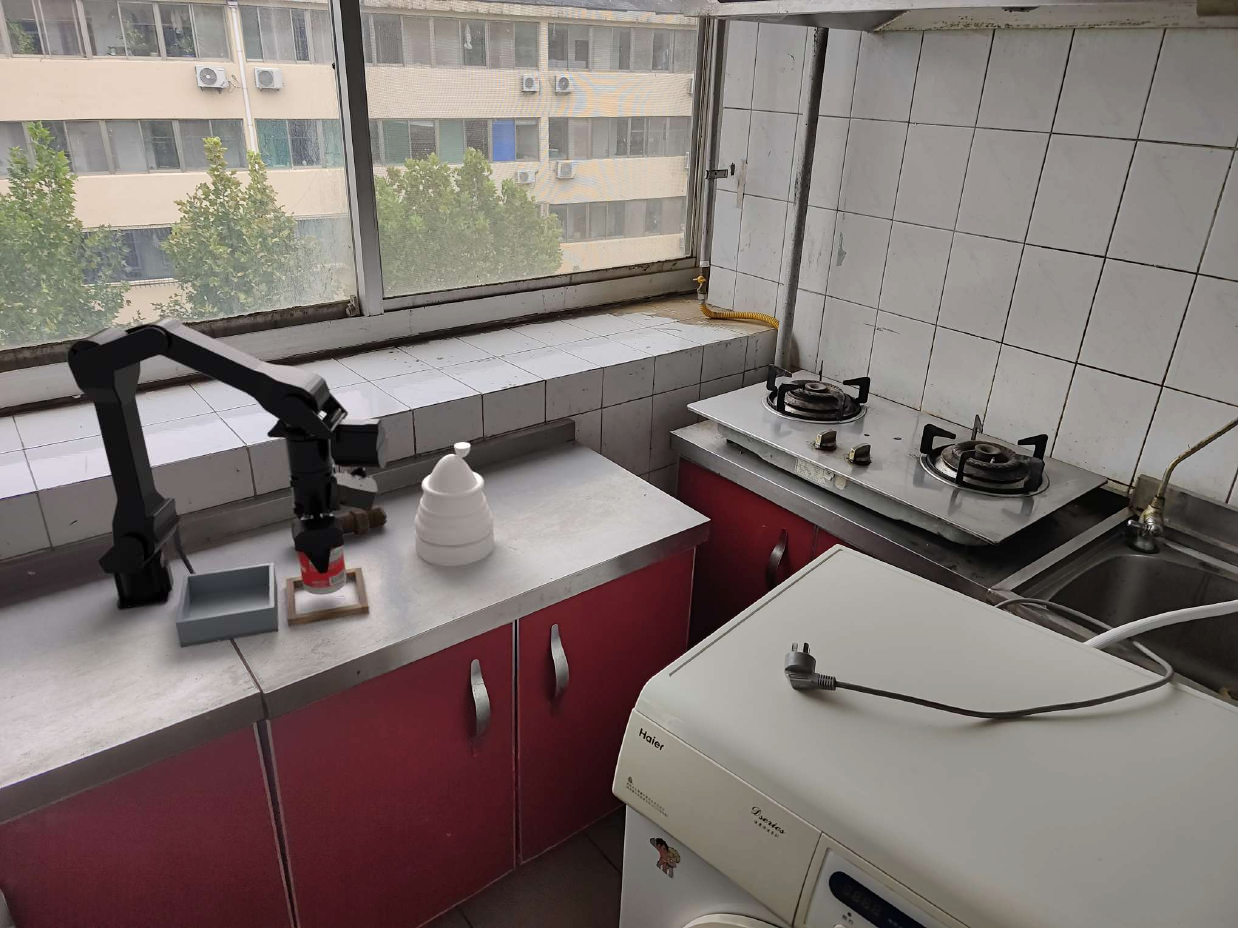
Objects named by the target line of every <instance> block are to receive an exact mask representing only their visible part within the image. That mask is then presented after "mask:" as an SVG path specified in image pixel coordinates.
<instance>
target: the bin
mask: <svg viewBox="0 0 1238 928" xmlns="http://www.w3.org/2000/svg"><path fill="white" fill-rule="evenodd" d="M275 567H276V566H275V563H274V562H266V563H259V564H253V565H252V564H251V565H247V566H246V565H245V566H239V567H232V568H225V569H218V570H210V571H205V572H198V573H190V574H183V577H182V583H181V588H180V595H179V601H178V605H177V606H178V607H177V613H176V619H175V626H176V630H177V635H178V639H179V644H180V648H186V647H190V646H196V645H203V644H208V643H209V644H210V643H214V642H215V643H216V642H221V641H227V640H232V639H238V638H243V637H250V636H256V635H262V634H268V633H275V632H279V610H278V606H279V605H278V603H279V600H278V582H277V575H276V574H277V573H276V568H275Z"/></svg>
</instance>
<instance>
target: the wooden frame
mask: <svg viewBox="0 0 1238 928" xmlns="http://www.w3.org/2000/svg"><path fill="white" fill-rule="evenodd" d="M353 579H355V580H356V586H357V593H358V599H359V603H357V604H350V605H343V606H337V607H332V608H331V607H330V608H326V609H319V610H313V611H308V612H307V611H306V612H302V613H301V612H300V613H297V612H296V597H295V595H296V593H295V588H300V587H301V588H302V587H303V583H302V576H296V577H289V578H285V582H286V583H285V584H286V586H285V587H286V611H287V612H286V614H287V623H288V627H295V626H300V625H305V624H312V623H318V622H324V621H329V620H330V621H331V620H336V619H340V618H347V617H348V618H349V617H355V616H359V615H366V614H370V608H369V607H370V606H369V602H368V601H369V600H368V596H367V595H368V594H367V591H366V585H365V580H364V574H363V570H362V567H361V566H360V567H355V568H348V569H347V568H346V581H347V580H353Z"/></svg>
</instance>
